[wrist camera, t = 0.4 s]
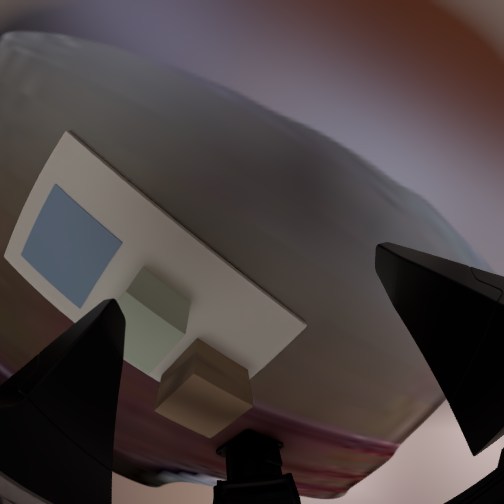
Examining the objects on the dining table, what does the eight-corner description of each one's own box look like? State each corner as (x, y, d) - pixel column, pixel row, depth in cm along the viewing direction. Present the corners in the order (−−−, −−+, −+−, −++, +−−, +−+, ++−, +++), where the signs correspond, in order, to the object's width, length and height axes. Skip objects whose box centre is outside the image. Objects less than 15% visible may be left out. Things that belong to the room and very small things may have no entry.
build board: (212, 405, 29) (212, 412, 28) (8, 254, 21) (2, 257, 20) (304, 321, 27) (307, 327, 26) (70, 131, 19) (64, 130, 18)
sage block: (159, 339, 25) (148, 374, 20) (113, 307, 23) (94, 337, 19) (191, 302, 24) (185, 334, 19) (143, 266, 23) (125, 291, 18)
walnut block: (210, 402, 27) (210, 438, 23) (161, 374, 26) (154, 410, 21) (247, 369, 27) (253, 406, 22) (197, 337, 25) (193, 373, 20)
